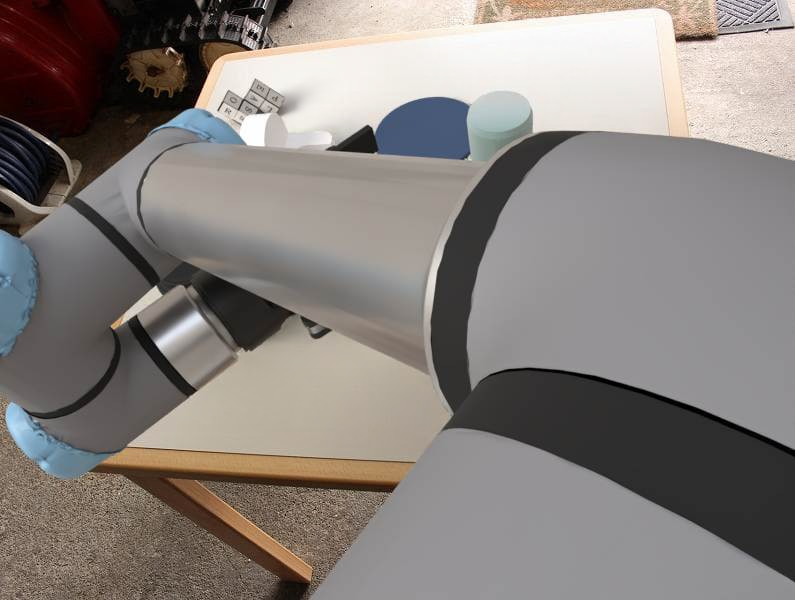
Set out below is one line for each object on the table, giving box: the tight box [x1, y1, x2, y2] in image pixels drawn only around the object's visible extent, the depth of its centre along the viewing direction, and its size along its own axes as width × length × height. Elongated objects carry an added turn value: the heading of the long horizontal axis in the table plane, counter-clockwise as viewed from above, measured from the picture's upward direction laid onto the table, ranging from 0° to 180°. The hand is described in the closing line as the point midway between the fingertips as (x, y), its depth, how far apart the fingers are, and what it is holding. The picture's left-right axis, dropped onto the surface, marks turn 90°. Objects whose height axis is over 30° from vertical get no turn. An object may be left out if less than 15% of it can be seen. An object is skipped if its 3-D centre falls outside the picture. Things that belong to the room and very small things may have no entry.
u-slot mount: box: [239, 112, 336, 150], centre depth 88 cm, size 18×10×10 cm, turn 84°
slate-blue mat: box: [374, 96, 471, 160], centre depth 91 cm, size 16×16×1 cm
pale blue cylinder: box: [467, 90, 534, 162], centre depth 68 cm, size 6×6×20 cm
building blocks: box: [216, 77, 286, 126], centre depth 98 cm, size 5×5×8 cm
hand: (420, 171), depth 53 cm, fingers open, 13 cm apart
